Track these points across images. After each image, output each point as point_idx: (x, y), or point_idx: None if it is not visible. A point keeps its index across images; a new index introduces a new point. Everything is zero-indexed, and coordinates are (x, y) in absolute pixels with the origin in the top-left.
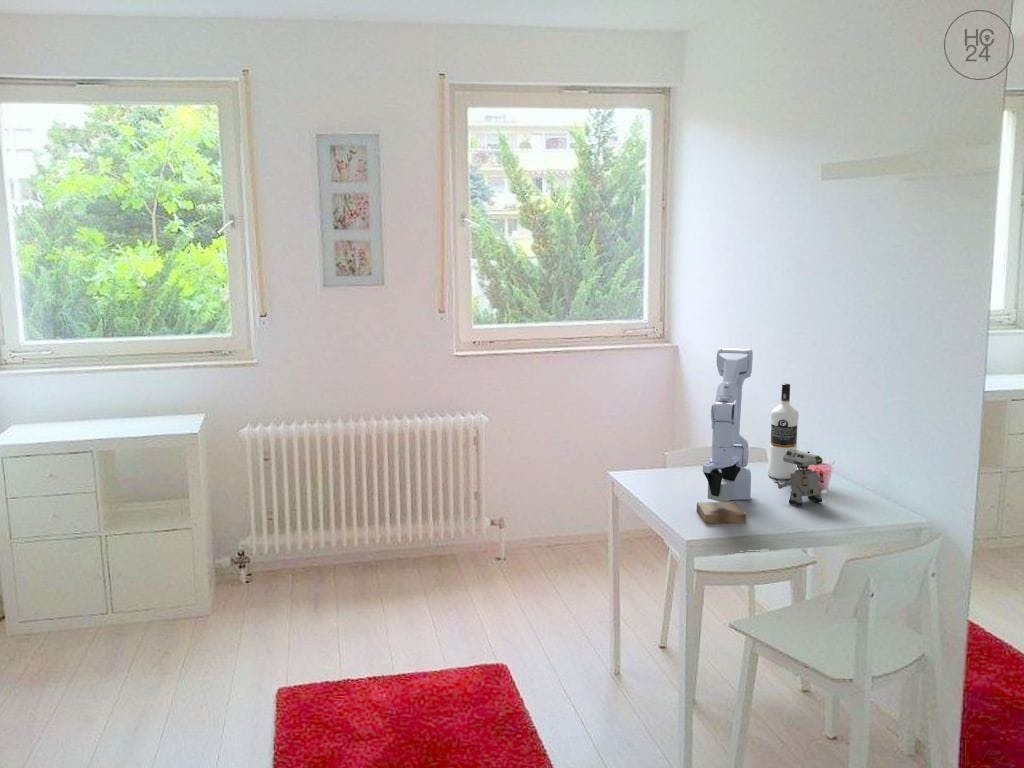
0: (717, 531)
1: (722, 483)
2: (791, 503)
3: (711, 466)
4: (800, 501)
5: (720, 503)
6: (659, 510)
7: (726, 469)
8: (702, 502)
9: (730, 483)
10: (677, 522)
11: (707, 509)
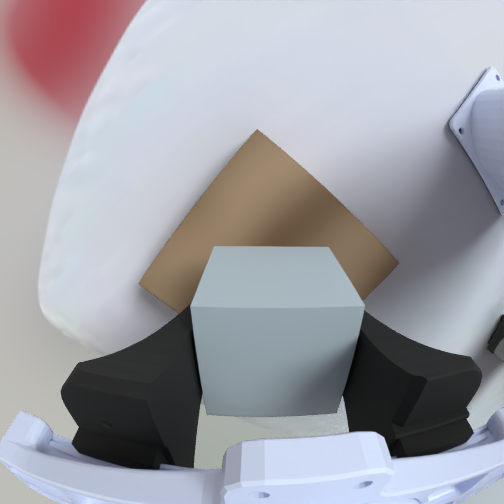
0: (134, 336)
1: (227, 403)
2: (501, 322)
3: (57, 498)
4: (496, 354)
5: (335, 228)
6: (140, 31)
7: (380, 424)
8: (281, 150)
9: (293, 410)
10: (83, 187)
11: (202, 244)
